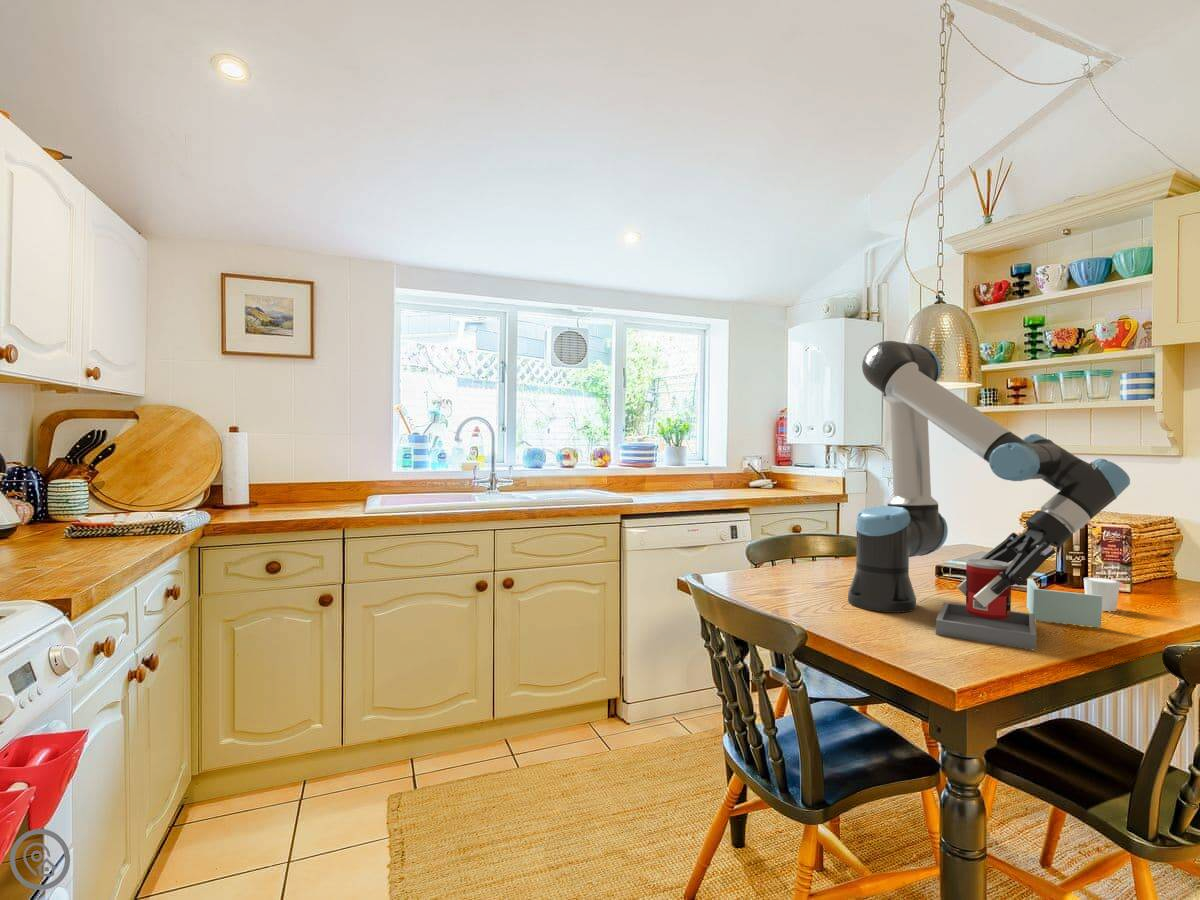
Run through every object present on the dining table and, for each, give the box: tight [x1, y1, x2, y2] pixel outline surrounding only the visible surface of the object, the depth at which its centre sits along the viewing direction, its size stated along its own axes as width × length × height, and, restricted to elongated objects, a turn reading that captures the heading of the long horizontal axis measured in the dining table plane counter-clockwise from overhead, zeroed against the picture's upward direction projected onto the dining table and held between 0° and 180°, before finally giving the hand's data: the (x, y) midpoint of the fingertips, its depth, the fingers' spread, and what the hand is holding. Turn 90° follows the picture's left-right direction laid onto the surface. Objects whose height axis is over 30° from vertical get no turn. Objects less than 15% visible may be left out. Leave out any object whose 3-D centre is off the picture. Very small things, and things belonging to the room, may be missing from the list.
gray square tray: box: [935, 601, 1037, 651], centre depth 131 cm, size 17×17×3 cm
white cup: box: [1083, 576, 1121, 612], centre depth 148 cm, size 7×7×7 cm
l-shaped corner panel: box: [1026, 578, 1103, 628], centre depth 141 cm, size 12×12×8 cm
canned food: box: [965, 558, 1012, 619], centre depth 130 cm, size 8×8×11 cm
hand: (970, 596), depth 131 cm, fingers closed on canned food, 8 cm apart
